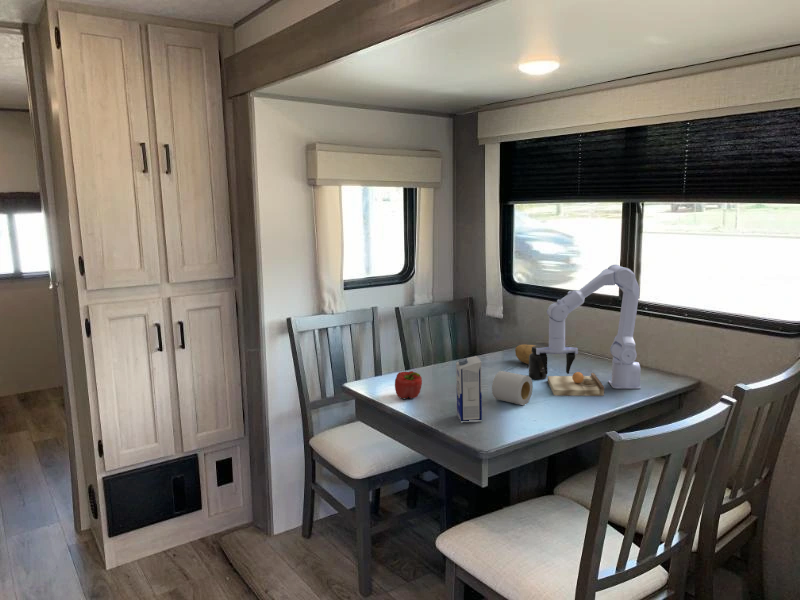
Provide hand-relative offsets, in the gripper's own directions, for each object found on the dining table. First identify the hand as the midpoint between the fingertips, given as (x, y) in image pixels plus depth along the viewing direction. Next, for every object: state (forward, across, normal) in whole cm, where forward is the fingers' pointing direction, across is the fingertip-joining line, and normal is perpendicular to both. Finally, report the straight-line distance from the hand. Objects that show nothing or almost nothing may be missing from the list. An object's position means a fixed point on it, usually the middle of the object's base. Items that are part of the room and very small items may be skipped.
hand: (556, 373), depth 214 cm
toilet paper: (+6, +17, +14) cm, 23 cm away
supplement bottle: (+6, +5, -13) cm, 15 cm away
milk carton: (+6, +32, +30) cm, 44 cm away
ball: (+2, -8, 0) cm, 8 cm away
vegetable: (+6, +53, +10) cm, 54 cm away
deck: (+6, -6, 0) cm, 9 cm away
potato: (+6, +6, -31) cm, 32 cm away
